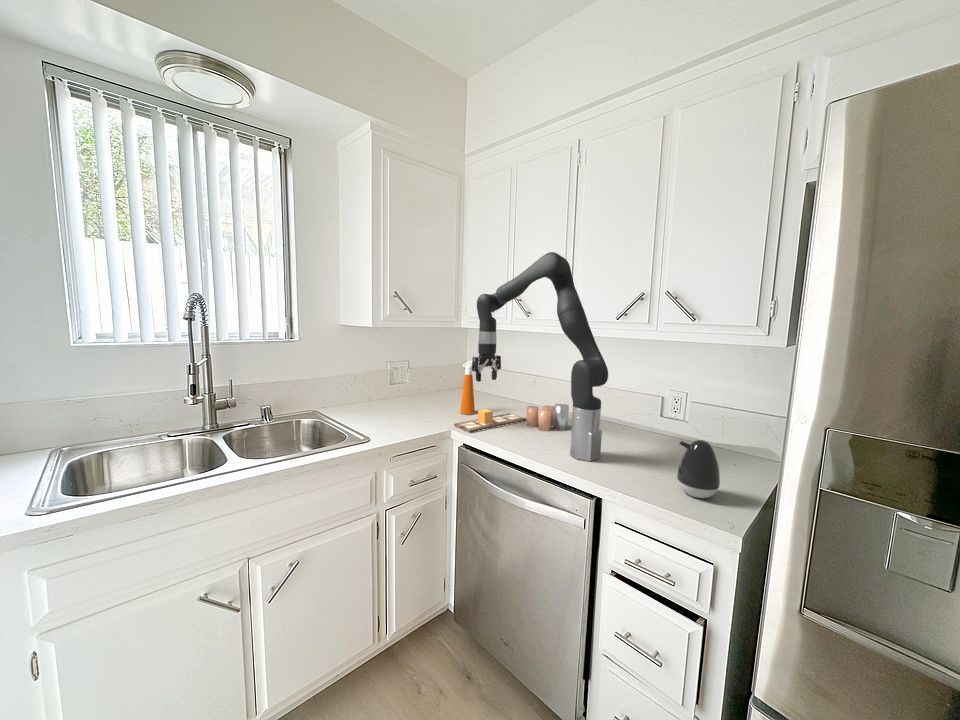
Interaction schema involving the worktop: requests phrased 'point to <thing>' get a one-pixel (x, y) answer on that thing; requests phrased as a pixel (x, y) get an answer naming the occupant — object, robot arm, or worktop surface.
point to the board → (497, 421)
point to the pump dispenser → (699, 470)
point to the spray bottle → (468, 391)
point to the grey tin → (561, 416)
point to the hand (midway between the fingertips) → (486, 380)
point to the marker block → (485, 416)
